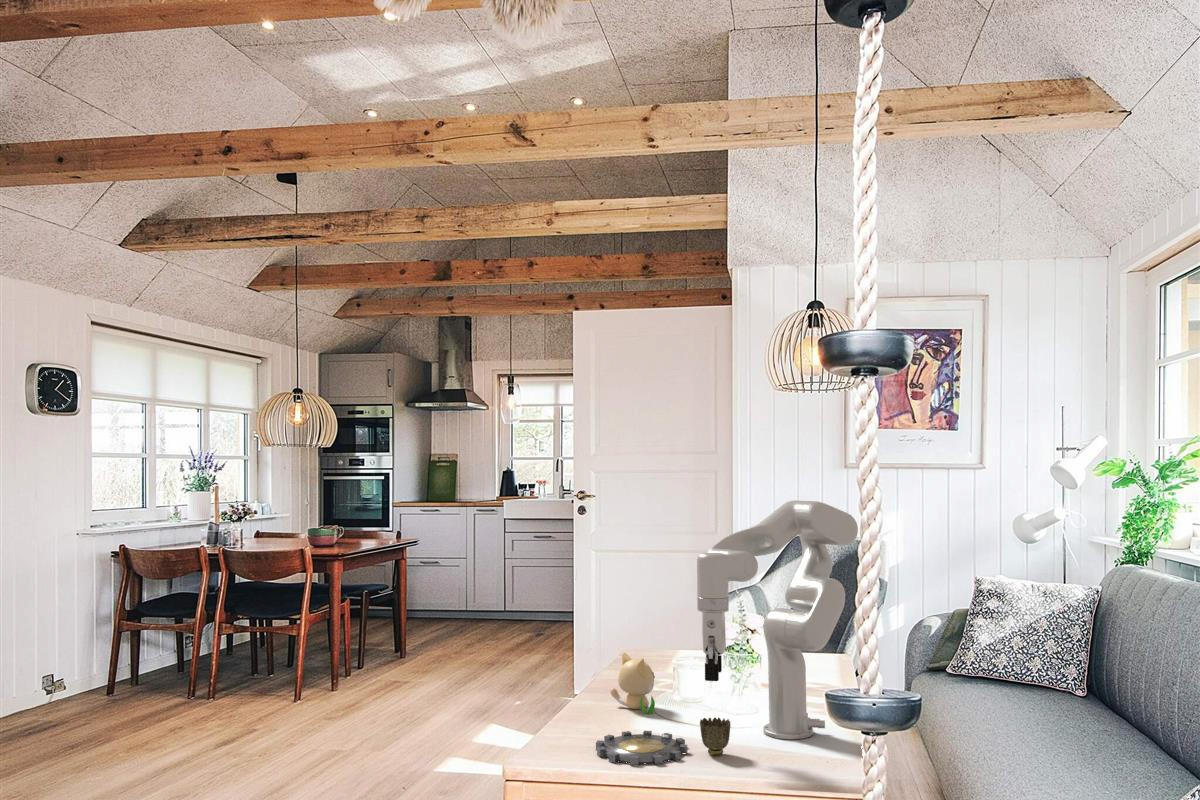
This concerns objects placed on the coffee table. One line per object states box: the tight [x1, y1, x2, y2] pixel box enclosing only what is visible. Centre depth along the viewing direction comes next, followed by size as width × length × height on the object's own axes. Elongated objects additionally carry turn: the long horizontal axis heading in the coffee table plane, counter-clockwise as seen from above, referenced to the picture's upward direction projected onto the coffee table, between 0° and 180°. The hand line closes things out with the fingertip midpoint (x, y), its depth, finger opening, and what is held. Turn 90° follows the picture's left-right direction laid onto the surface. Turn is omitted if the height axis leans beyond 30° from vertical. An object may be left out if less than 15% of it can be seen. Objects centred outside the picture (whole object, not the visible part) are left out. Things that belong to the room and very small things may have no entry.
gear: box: [595, 730, 688, 766], centre depth 238 cm, size 22×22×2 cm
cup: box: [699, 716, 731, 757], centre depth 235 cm, size 8×7×8 cm
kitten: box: [609, 652, 656, 715], centre depth 278 cm, size 15×10×15 cm, turn 32°
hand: (713, 676), depth 235 cm, fingers open, 9 cm apart
